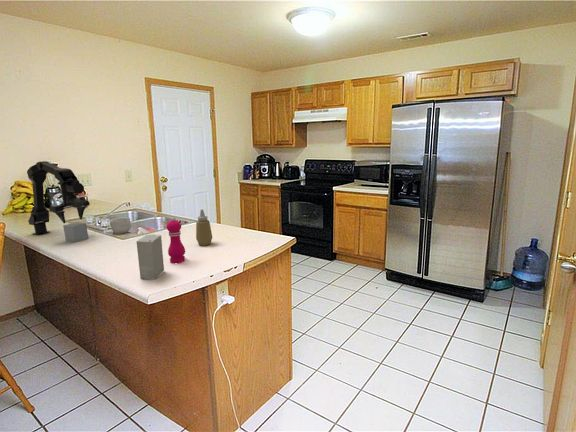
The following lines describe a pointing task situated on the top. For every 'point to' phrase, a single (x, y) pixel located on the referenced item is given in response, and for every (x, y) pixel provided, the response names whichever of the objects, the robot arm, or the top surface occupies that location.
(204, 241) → the squeeze bottle
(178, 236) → the pepper mill
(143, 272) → the skincare box
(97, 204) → the top surface
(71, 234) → the grey block
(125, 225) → the teacup
